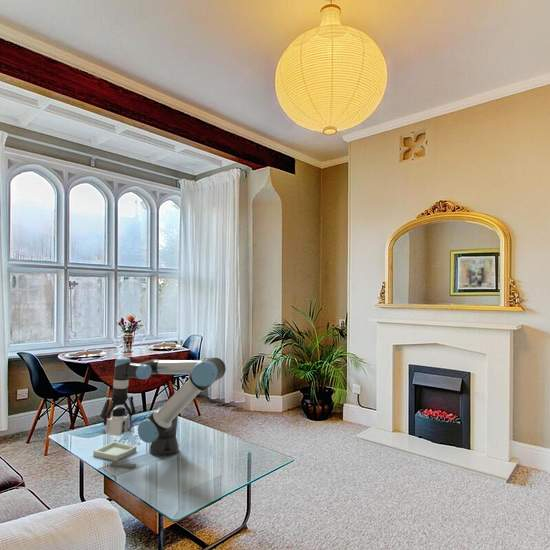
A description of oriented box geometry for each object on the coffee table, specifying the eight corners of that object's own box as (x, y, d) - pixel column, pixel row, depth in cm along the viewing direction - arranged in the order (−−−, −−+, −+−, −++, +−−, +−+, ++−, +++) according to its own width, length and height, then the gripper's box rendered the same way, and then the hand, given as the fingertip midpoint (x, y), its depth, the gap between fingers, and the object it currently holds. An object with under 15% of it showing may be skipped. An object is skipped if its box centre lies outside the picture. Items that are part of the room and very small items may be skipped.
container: (127, 431, 219) (129, 406, 220) (120, 436, 212) (122, 410, 212) (113, 429, 220) (115, 405, 221) (105, 434, 213) (108, 409, 213)
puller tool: (135, 467, 201) (136, 464, 201) (133, 469, 199) (133, 466, 199) (112, 464, 202) (112, 461, 202) (109, 466, 200) (110, 463, 200)
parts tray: (136, 451, 220) (136, 446, 220) (116, 461, 206) (117, 456, 206) (113, 445, 225) (113, 441, 225) (93, 455, 211) (93, 450, 211)
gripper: (138, 383, 227) (135, 423, 226) (95, 387, 212) (91, 430, 211) (144, 386, 221) (140, 427, 221) (100, 391, 206) (96, 435, 206)
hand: (116, 429), depth 216 cm, fingers closed on container, 10 cm apart
